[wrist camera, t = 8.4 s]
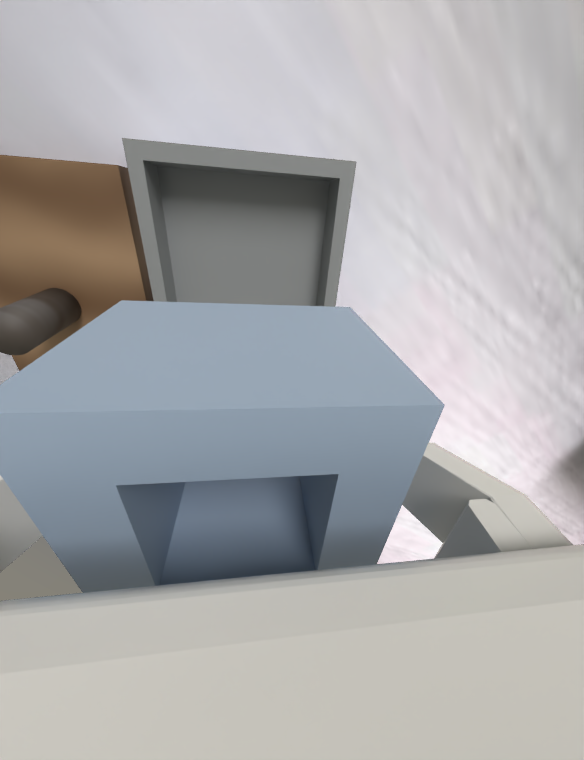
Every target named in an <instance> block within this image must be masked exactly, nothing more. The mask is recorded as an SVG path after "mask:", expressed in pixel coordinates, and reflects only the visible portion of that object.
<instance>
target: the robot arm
mask: <svg viewBox="0 0 584 760" xmlns="http://www.w3.org/2000/svg"><path fill="white" fill-rule="evenodd" d="M402 505H403V506H404V507H405V508H406V509H407V510H409V511H410V512H411V513H412V514H413V515H414V516H415V517H416V518H417V519H418V520H419V521H420V522H421V523H422V524H423V525H424V526H426V527H427V528H428V529H429V530H430V531H431V532H432V533H433V534H434V535H435V536H436V537H437V538H438V539H439V540H440V541H441V542H443V544H442V546H441V547H440V549H439V551H438V552H437V554H436V556H435V558H434V559H427V560H416V561H406V562H396V563H385V564H375V565H365V566H354V567H344V568H333V569H323V570H313V571H302V572H292V573H281V574H271V575H261V576H250V577H240V578H230V579H220V580H209V581H199V582H189V583H179V584H168V585H158V586H148V587H138V588H127V589H117V590H107V591H97V592H86V593H76V594H67V595H55V596H45V597H35V598H24V599H14V600H4V601H0V760H584V544H581V545H573V544H572V543H571V542H570V541H569V540H568V539H567V538H566V537H565V536H564V535H563V534H562V533H561V532H560V531H559V530H558V528H557V527H556V526H555V525H554V524H553V523H552V522H551V521H550V520H549V519H548V518H547V517H546V516H545V515H544V514H543V513H542V512H541V511H540V509H539V508H538V507H537V506H536V505H535V504H534V503H533V502H532V501H531V500H530V499H529V498H528V497H527V496H526V495H525V494H523V493H521V492H520V491H518V490H516V489H514V488H513V487H511V486H509V485H507V484H506V483H504V482H502V481H500V480H498V479H497V478H495V477H493V476H491V475H490V474H488V473H486V472H484V471H483V470H481V469H479V468H477V467H475V466H474V465H472V464H470V463H468V462H467V461H465V460H463V459H461V458H460V457H458V456H456V455H454V454H453V453H451V452H449V451H447V450H445V449H444V448H442V447H440V446H438V445H437V444H435V443H428V445H427V447H426V450H425V452H424V454H423V457H422V459H421V461H420V464H419V466H418V468H417V471H416V473H415V475H414V478H413V480H412V482H411V485H410V487H409V489H408V492H407V494H406V496H405V499H404V501H403V503H402ZM42 536H43V535H42V534H41V532H40V531H39V529H38V528H37V527H36V525H35V524H34V522H33V521H32V519H31V518H30V517H29V515H28V514H27V512H26V511H25V509H24V508H23V507H22V505H21V504H20V502H19V501H18V499H17V498H16V497H15V495H14V494H13V492H12V491H11V489H10V488H9V487H8V485H7V484H6V482H5V481H4V479H3V478H2V477H1V475H0V572H2V571H3V570H4V569H5V568H6V567H7V566H8V565H9V564H11V563H12V562H13V561H14V560H15V559H16V558H18V557H19V556H20V555H21V554H22V553H23V552H25V551H26V550H27V549H28V548H29V547H30V546H32V545H33V544H34V543H35V542H36V541H37V540H38V539H40V538H41V537H42Z"/></svg>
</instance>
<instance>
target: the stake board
mask: <svg viewBox="0 0 584 760" xmlns="http://www.w3.org/2000/svg"><path fill="white" fill-rule="evenodd" d="M121 300H126V301H154V300H153V295H152V290H151V285H150V280H149V274H148V269H147V264H146V259H145V254H144V249H143V243H142V238H141V233H140V228H139V223H138V218H137V213H136V207H135V202H134V197H133V192H132V187H131V182H130V176H129V171H128V168H125V167H122V166H119V165H109V164H98V163H86V162H75V161H64V160H52V159H41V158H30V157H19V156H7V155H0V352H2V353H5V354H9V355H12V357H13V359H14V361H15V363H16V365H17V367H18V369H19V371H21V370H22V369H23V368H25V367H26V366H28V365H29V364H31V363H32V362H34V361H35V360H36V359H38V358H39V357H41V356H42V355H44V354H45V353H46V352H48V351H49V350H51V349H52V348H54V347H55V346H56V345H58V344H59V343H61V342H62V341H64V340H65V339H67V338H68V337H69V336H71V335H72V334H74V333H75V332H77V331H78V330H79V329H81V328H82V327H84V326H85V325H87V324H88V323H90V322H91V321H92V320H94V319H95V318H97V317H98V316H100V315H101V314H102V313H104V312H105V311H107V310H108V309H110V308H111V307H112V306H114V305H115V304H117V303H118V302H120V301H121Z"/></svg>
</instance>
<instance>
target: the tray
mask: <svg viewBox="0 0 584 760" xmlns="http://www.w3.org/2000/svg"><path fill="white" fill-rule="evenodd" d="M122 140H123V146H124V151H125V156H126V161H127V166H128V171H129V176H130V182H131V187H132V192H133V197H134V202H135V207H136V213H137V218H138V223H139V228H140V233H141V238H142V243H143V249H144V254H145V259H146V264H147V269H148V274H149V280H150V285H151V290H152V295H153V300H154V301H159V302H193V303H227V304H261V305H295V306H329V307H335V305H336V298H337V291H338V284H339V277H340V271H341V264H342V257H343V250H344V243H345V236H346V230H347V223H348V216H349V209H350V202H351V195H352V189H353V182H354V175H355V168H356V162H355V161H345V160H335V159H325V158H315V157H305V156H295V155H285V154H276V153H266V152H256V151H246V150H236V149H226V148H216V147H206V146H196V145H186V144H176V143H166V142H156V141H146V140H136V139H126V138H122Z"/></svg>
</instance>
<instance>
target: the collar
mask: <svg viewBox="0 0 584 760" xmlns="http://www.w3.org/2000/svg"><path fill="white" fill-rule="evenodd" d="M443 408H444V404H443V403H442V402H441V401H440V400H439V399H438V398H437V397H436V396H435V395H434V393H433V392H432V391H431V390H430V389H429V388H428V387H427V386H426V385H425V384H424V383H423V382H422V381H421V380H420V379H419V378H418V377H417V376H416V375H415V374H414V373H413V372H412V371H411V370H410V369H409V368H408V367H407V366H406V365H405V364H404V362H403V361H402V360H401V359H400V358H399V357H398V356H397V355H396V354H395V353H394V352H393V351H392V350H391V349H390V348H389V347H388V346H387V345H386V344H385V343H384V342H383V341H382V340H381V339H380V338H379V337H378V336H377V335H376V334H375V333H374V331H373V330H372V329H371V328H370V327H369V326H368V325H367V324H366V323H365V322H364V321H363V320H362V319H361V318H360V317H359V316H358V315H357V314H356V313H355V312H354V311H353V310H352V309H351V308H350V307H329V306H295V305H261V304H227V303H193V302H159V301H126V300H121V301H120V302H118V303H117V304H115V305H114V306H112V307H111V308H110V309H108V310H107V311H105V312H104V313H102V314H101V315H100V316H98V317H97V318H95V319H94V320H92V321H91V322H90V323H88V324H87V325H85V326H84V327H82V328H81V329H79V330H78V331H77V332H75V333H74V334H72V335H71V336H69V337H68V338H67V339H65V340H64V341H62V342H61V343H59V344H58V345H56V346H55V347H54V348H52V349H51V350H49V351H48V352H46V353H45V354H44V355H42V356H41V357H39V358H38V359H36V360H35V361H34V362H32V363H31V364H29V365H28V366H26V367H25V368H23V369H22V370H21V371H19V372H18V373H16V374H15V375H13V376H12V377H11V378H9V379H8V380H6V381H5V382H3V383H2V384H1V385H0V475H1V477H2V478H3V479H4V481H5V482H6V484H7V485H8V487H9V488H10V489H11V491H12V492H13V494H14V495H15V497H16V498H17V499H18V501H19V502H20V504H21V505H22V507H23V508H24V509H25V511H26V512H27V514H28V515H29V517H30V518H31V519H32V521H33V522H34V524H35V525H36V527H37V528H38V529H39V531H40V532H41V534H42V535H43V537H44V538H45V539H46V541H47V542H48V544H49V545H50V547H51V548H52V549H53V551H54V552H55V554H56V555H57V557H58V558H59V559H60V561H61V562H62V564H63V565H64V566H65V568H66V569H67V571H68V572H69V574H70V575H71V576H72V578H73V579H74V581H75V582H76V584H77V585H78V586H79V588H80V589H81V591H82V592H83V593H86V592H97V591H107V590H117V589H127V588H138V587H148V586H158V585H168V584H179V583H189V582H199V581H209V580H220V579H230V578H240V577H250V576H261V575H271V574H281V573H292V572H302V571H313V570H323V569H333V568H344V567H354V566H365V565H375V564H377V562H378V560H379V557H380V555H381V553H382V550H383V548H384V546H385V543H386V541H387V539H388V536H389V534H390V531H391V529H392V527H393V524H394V522H395V520H396V517H397V515H398V513H399V510H400V508H401V506H402V503H403V501H404V499H405V496H406V494H407V492H408V489H409V487H410V485H411V482H412V480H413V478H414V475H415V473H416V471H417V468H418V466H419V464H420V461H421V459H422V457H423V454H424V452H425V450H426V447H427V445H428V443H429V440H430V438H431V436H432V433H433V431H434V429H435V426H436V424H437V422H438V419H439V417H440V415H441V412H442V410H443Z"/></svg>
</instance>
